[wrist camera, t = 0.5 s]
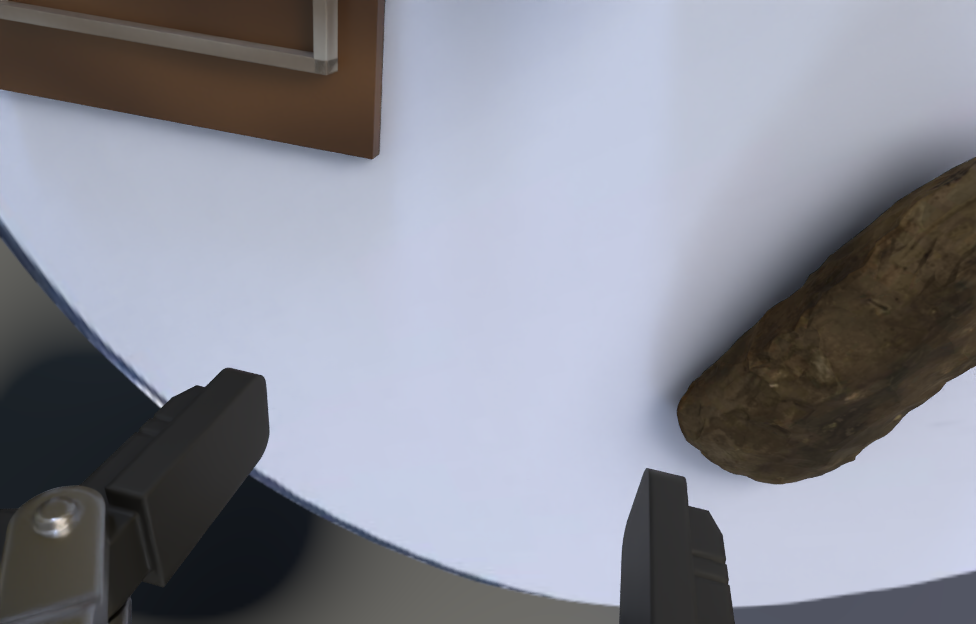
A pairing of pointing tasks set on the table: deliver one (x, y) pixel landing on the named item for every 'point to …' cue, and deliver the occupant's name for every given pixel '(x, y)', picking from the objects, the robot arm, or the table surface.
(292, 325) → the table surface
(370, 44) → the mount board
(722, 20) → the table surface
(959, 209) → the stone
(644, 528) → the robot arm
